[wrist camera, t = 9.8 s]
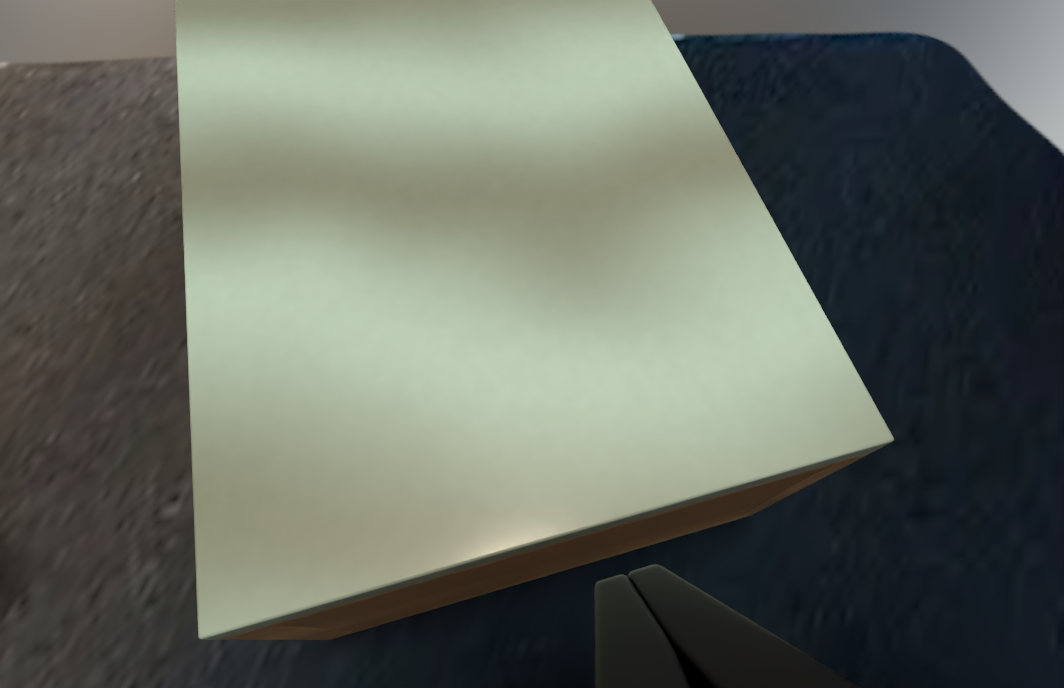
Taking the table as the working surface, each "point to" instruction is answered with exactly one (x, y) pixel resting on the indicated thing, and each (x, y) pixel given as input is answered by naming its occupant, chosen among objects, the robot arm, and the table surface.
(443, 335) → the box lid
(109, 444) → the table surface
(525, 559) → the keepsake box
